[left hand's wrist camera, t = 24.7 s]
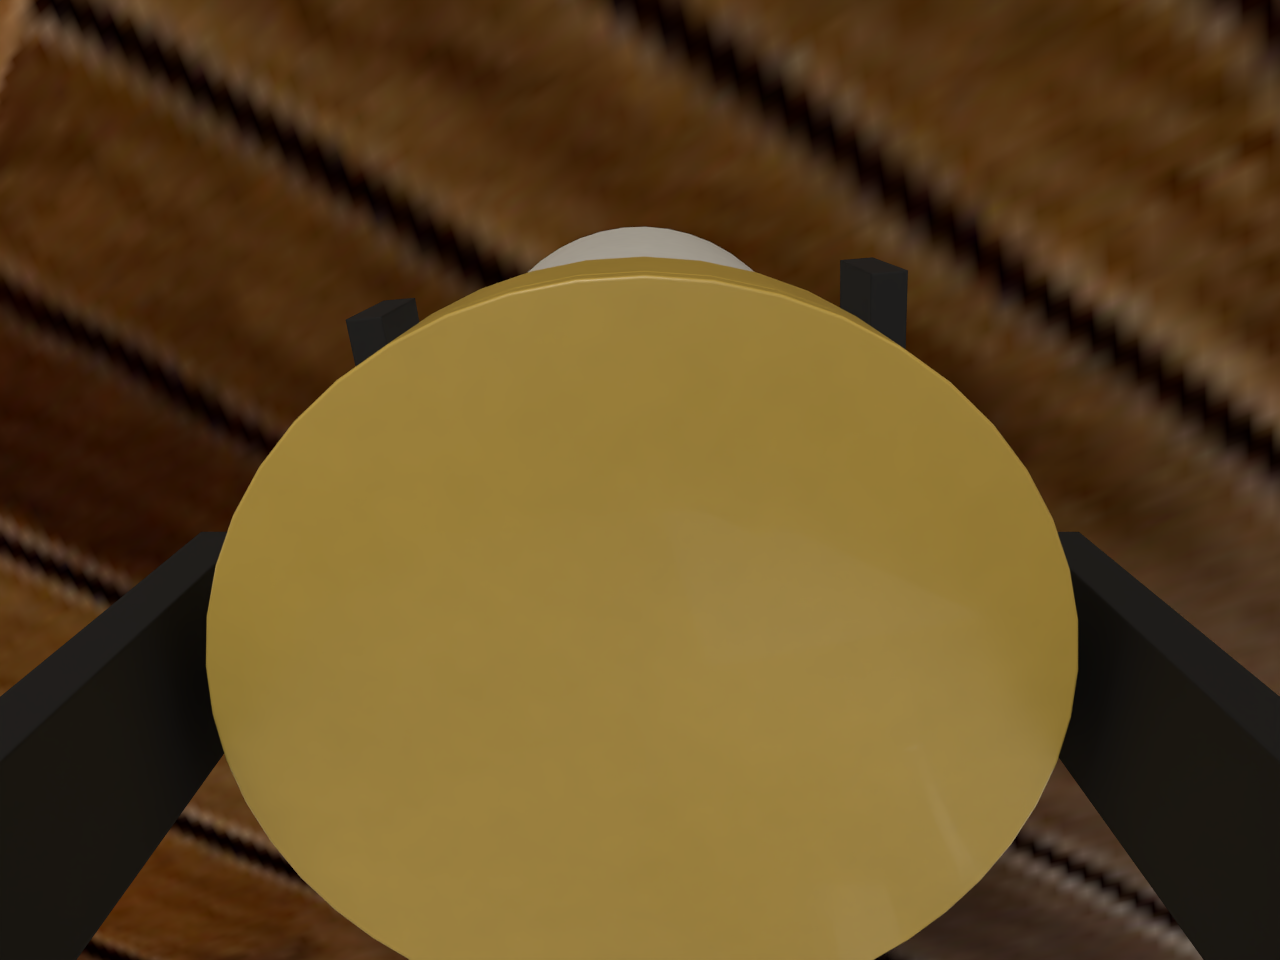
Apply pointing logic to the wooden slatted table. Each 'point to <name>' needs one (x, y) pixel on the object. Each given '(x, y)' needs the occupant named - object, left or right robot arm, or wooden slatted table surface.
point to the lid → (642, 629)
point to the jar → (640, 248)
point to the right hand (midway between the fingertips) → (624, 286)
